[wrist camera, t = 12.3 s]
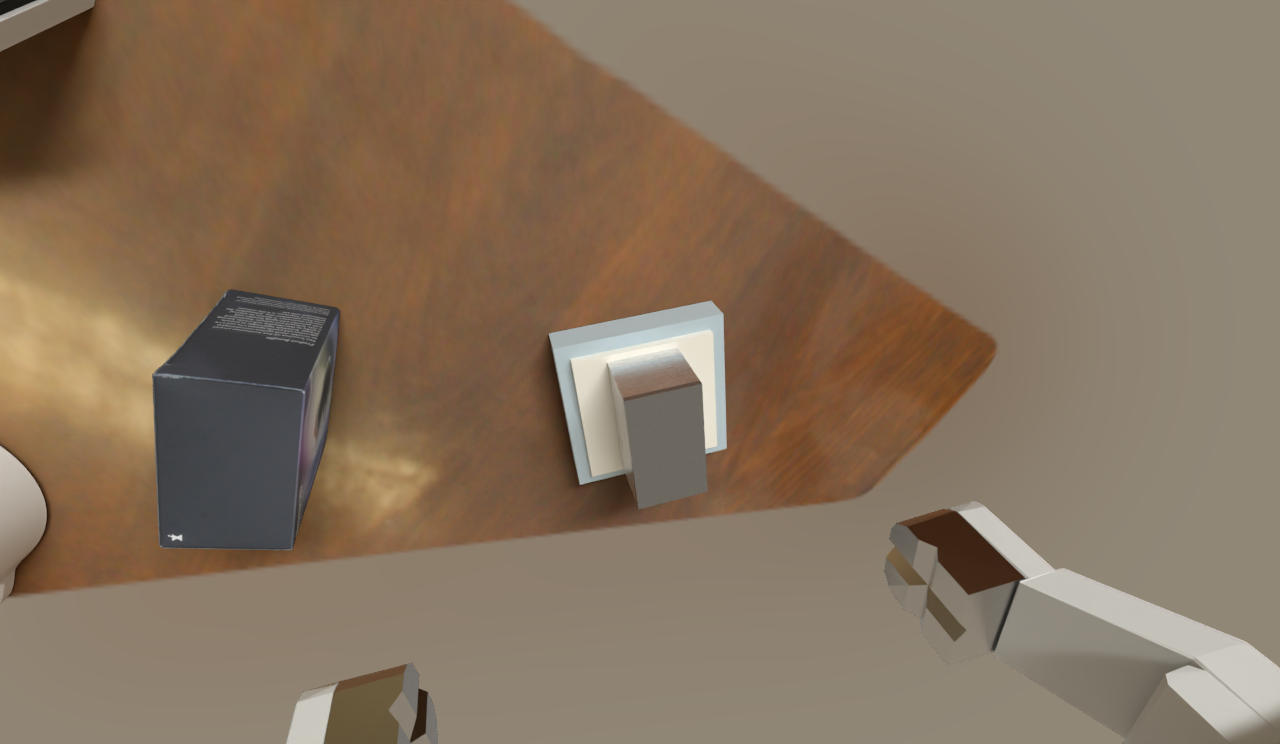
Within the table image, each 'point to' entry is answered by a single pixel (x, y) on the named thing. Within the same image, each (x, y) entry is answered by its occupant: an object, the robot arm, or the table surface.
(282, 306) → the small box
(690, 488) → the block
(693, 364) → the stand
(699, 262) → the table surface
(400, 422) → the table surface
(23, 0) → the white slotted block
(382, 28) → the table surface
